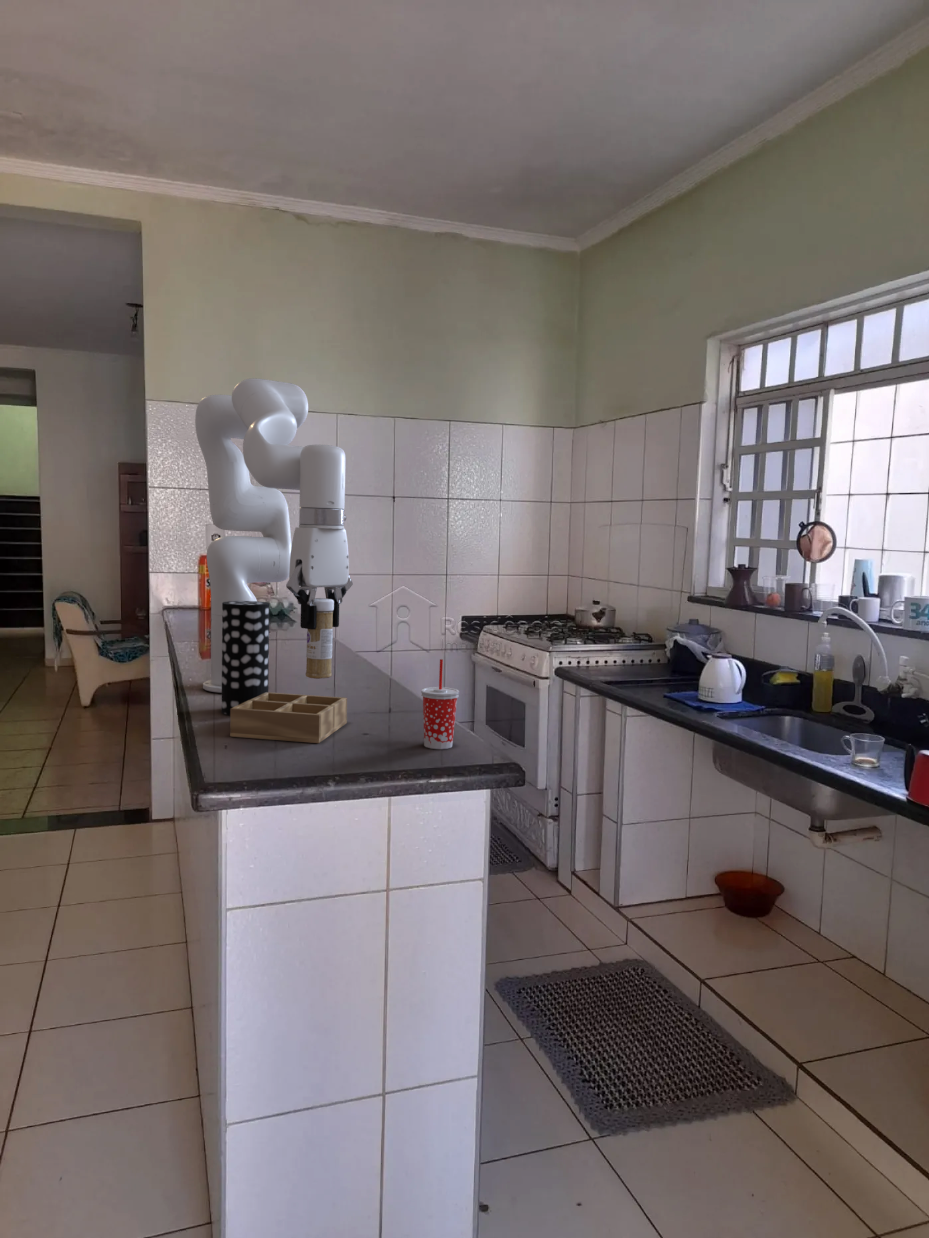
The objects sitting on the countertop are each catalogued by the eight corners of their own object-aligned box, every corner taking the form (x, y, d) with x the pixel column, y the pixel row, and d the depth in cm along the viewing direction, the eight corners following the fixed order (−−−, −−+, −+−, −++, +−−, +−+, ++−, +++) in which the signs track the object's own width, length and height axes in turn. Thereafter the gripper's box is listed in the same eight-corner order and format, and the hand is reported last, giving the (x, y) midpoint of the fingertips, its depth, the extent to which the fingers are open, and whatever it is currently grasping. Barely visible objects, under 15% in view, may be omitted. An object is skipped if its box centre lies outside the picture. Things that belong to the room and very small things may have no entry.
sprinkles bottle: (300, 676, 148) (301, 598, 147) (322, 673, 151) (324, 597, 150) (315, 680, 145) (316, 600, 144) (337, 677, 148) (339, 599, 147)
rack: (265, 717, 155) (266, 692, 154) (346, 723, 152) (347, 697, 152) (230, 736, 140) (230, 708, 139) (318, 743, 138) (319, 715, 137)
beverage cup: (453, 751, 136) (456, 663, 134) (415, 748, 137) (418, 660, 135) (460, 742, 142) (463, 657, 140) (423, 739, 143) (426, 655, 141)
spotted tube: (256, 717, 154) (257, 605, 152) (213, 714, 156) (213, 603, 154) (275, 708, 162) (276, 602, 160) (234, 705, 164) (235, 600, 162)
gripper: (341, 521, 154) (339, 622, 156) (267, 517, 141) (266, 628, 143) (372, 521, 150) (369, 626, 152) (299, 518, 136) (298, 633, 138)
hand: (319, 626), depth 147 cm, fingers closed on sprinkles bottle, 4 cm apart
